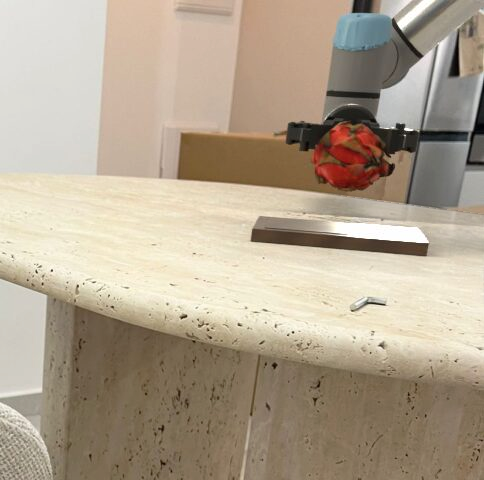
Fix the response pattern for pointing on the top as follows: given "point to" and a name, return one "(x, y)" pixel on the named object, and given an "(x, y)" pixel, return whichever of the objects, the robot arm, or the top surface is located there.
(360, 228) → the cutting board
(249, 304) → the top surface
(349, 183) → the dragon fruit
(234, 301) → the top surface
